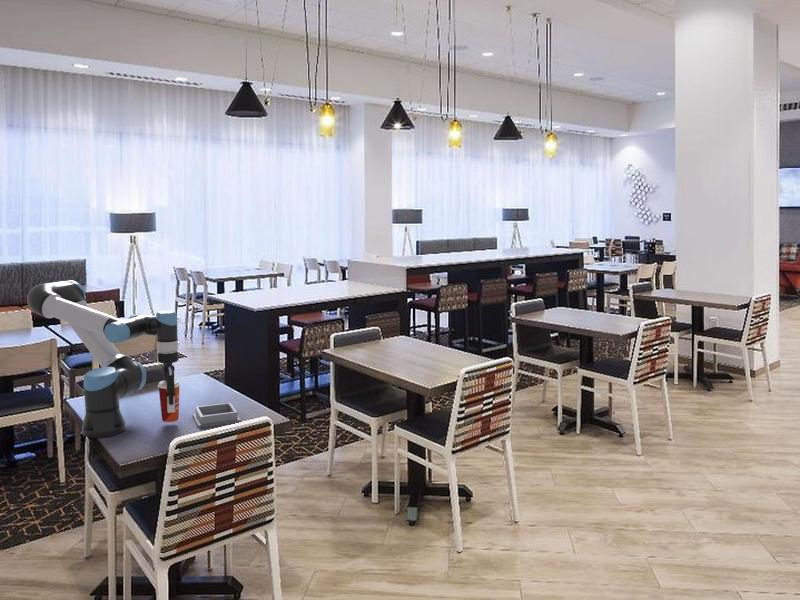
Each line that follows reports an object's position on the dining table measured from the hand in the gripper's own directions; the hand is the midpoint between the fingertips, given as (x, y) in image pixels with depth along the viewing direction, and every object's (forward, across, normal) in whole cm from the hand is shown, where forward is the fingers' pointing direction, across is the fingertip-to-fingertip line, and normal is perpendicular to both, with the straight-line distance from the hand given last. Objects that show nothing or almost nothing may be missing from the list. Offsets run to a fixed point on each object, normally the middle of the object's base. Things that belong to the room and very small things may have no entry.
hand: (170, 408), depth 260 cm
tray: (+6, 0, -17) cm, 18 cm away
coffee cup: (+4, 0, 0) cm, 4 cm away
